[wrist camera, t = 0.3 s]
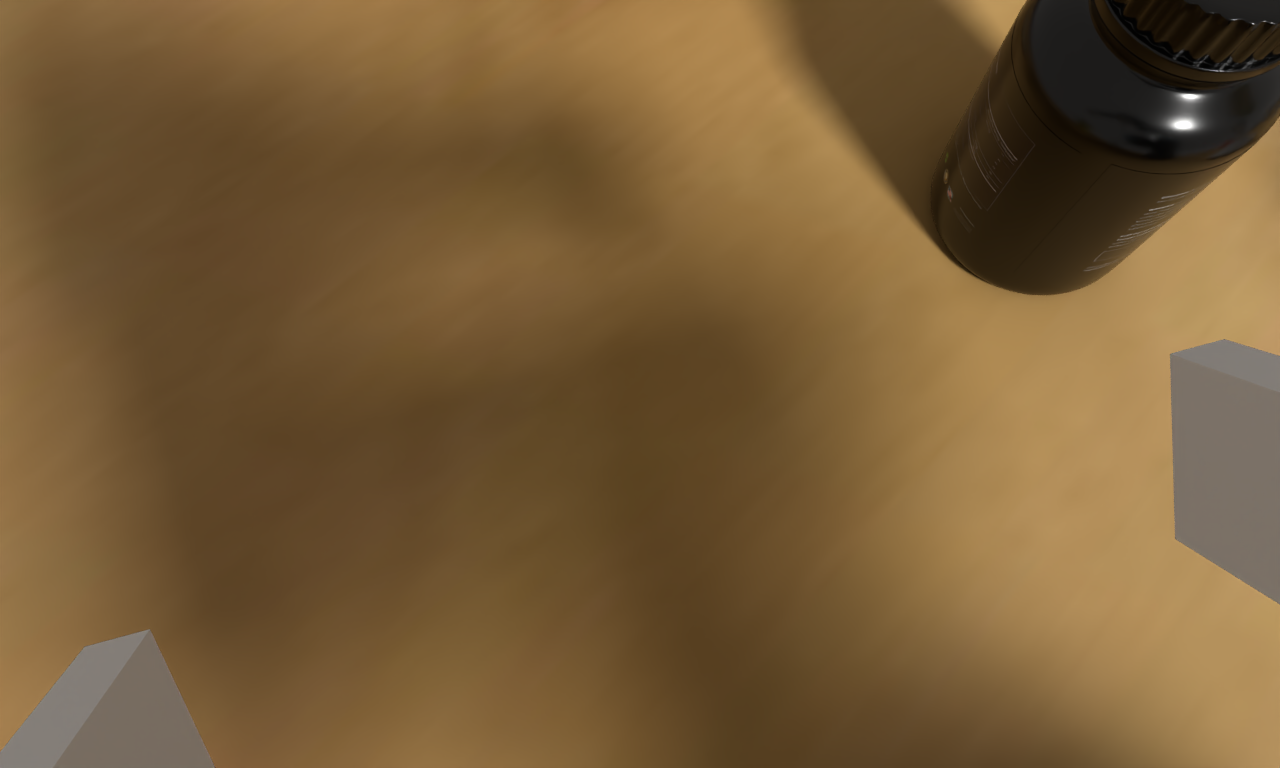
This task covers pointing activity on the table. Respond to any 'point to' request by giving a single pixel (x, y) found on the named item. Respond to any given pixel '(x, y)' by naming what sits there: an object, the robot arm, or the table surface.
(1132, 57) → the supplement bottle
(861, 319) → the table surface
